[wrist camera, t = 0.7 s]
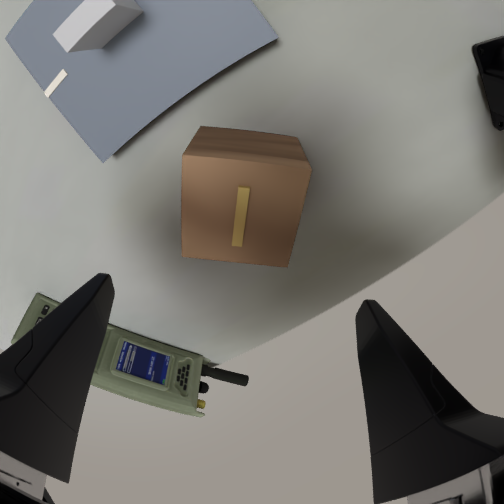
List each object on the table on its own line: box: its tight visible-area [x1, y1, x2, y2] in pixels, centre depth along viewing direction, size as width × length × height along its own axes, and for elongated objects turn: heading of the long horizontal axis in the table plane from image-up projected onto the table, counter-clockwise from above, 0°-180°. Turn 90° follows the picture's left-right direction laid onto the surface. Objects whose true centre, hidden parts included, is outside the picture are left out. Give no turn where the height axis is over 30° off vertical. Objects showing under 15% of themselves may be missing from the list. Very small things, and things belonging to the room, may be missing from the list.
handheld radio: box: [11, 293, 249, 417], centre depth 27 cm, size 7×3×25 cm
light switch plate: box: [5, 0, 279, 163], centre depth 10 cm, size 12×12×5 cm
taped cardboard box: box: [181, 126, 312, 267], centre depth 16 cm, size 6×6×5 cm
